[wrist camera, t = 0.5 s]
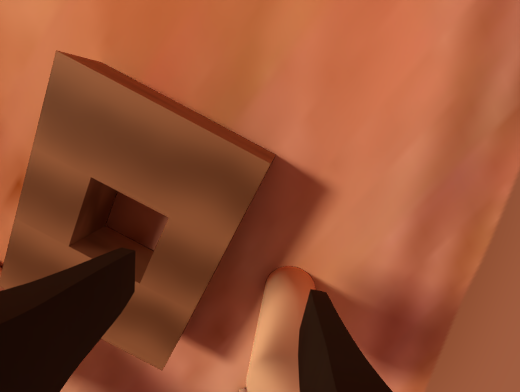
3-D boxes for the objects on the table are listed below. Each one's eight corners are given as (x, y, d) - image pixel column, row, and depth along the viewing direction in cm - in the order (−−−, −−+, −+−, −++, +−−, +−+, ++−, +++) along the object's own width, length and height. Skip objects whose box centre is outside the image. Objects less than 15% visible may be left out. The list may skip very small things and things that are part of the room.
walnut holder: (182, 333, 26) (162, 370, 22) (42, 260, 26) (-2, 285, 22) (275, 154, 21) (270, 163, 17) (101, 62, 21) (56, 50, 17)
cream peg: (299, 318, 24) (299, 429, 16) (256, 295, 24) (233, 395, 16) (324, 281, 23) (339, 380, 14) (279, 257, 23) (267, 342, 14)
